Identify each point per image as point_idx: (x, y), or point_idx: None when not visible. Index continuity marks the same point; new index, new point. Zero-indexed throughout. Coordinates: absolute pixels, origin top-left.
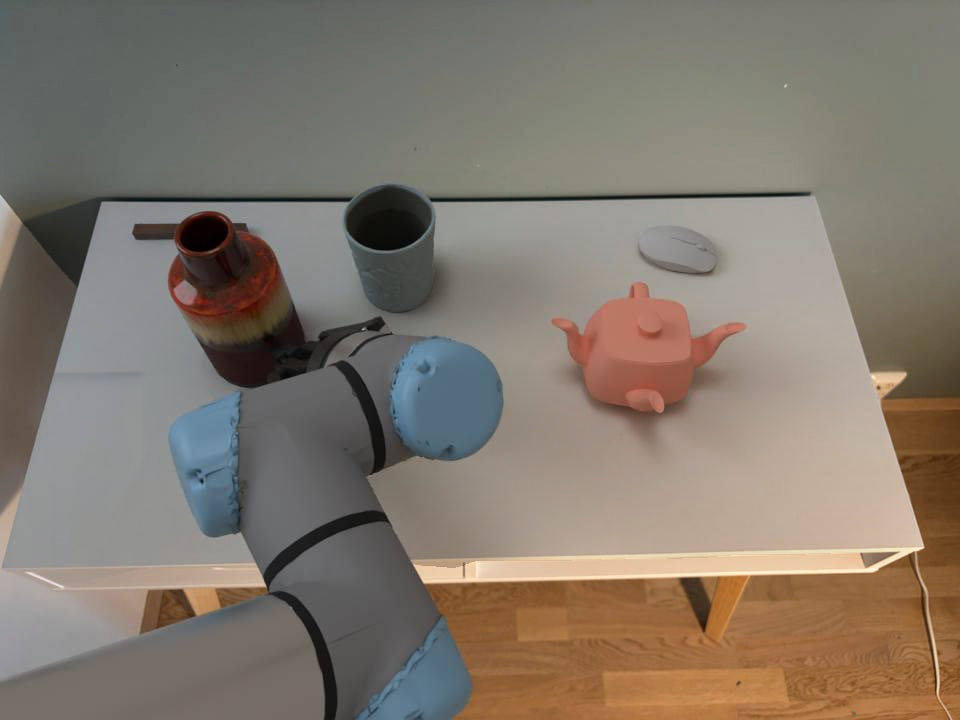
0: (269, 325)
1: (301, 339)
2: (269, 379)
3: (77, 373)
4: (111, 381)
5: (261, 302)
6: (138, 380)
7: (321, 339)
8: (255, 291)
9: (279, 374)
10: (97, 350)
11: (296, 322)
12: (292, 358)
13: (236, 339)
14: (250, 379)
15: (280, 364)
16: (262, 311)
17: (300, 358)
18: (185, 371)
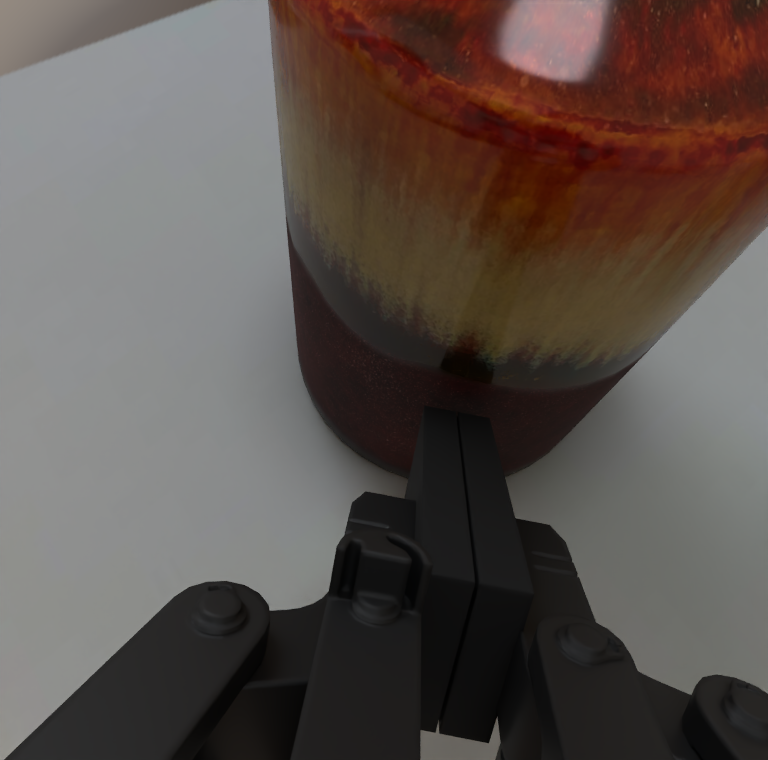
0: (517, 332)
1: (552, 443)
2: (111, 682)
3: (123, 58)
4: (142, 122)
5: (611, 186)
6: (176, 165)
7: (705, 747)
8: (655, 87)
9: (207, 720)
10: (199, 56)
11: (597, 399)
12: (417, 669)
13: (351, 256)
14: (326, 402)
15: (335, 595)
16: (559, 243)
17: (472, 646)
18: (262, 237)
